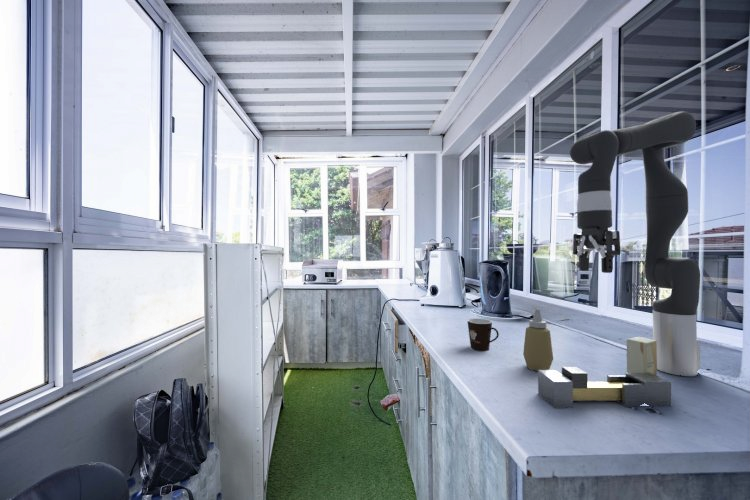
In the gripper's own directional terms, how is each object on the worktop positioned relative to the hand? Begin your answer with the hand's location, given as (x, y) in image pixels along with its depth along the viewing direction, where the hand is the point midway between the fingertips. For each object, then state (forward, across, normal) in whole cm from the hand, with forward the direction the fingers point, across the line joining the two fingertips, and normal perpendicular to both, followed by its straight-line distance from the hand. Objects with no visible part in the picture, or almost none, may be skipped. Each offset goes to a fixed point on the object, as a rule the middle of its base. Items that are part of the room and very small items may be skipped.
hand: (594, 271), depth 81 cm
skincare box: (+30, 0, -12) cm, 33 cm away
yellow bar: (+30, -8, +7) cm, 32 cm away
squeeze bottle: (+30, +12, +9) cm, 34 cm away
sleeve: (+30, -8, -4) cm, 31 cm away
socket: (+30, -8, +15) cm, 35 cm away
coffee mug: (+30, +30, +20) cm, 47 cm away
